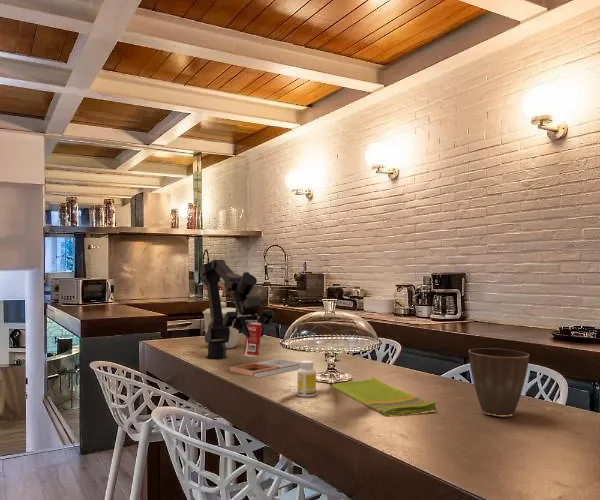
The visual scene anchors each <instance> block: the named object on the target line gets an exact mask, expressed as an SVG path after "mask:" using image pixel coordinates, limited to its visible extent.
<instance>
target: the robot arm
mask: <svg viewBox="0 0 600 500" xmlns="http://www.w3.org/2000/svg"><path fill="white" fill-rule="evenodd" d="M199 276H200V278H201V281H202V283H203V284H204V285H205V286H206V291H207V297H208V299H207V300H208V306H209V308H210V315H211V321H210V323H209V325H208V331H207V333H206V332H205V335H204V343H206V344H207V343H208V344H207V356H206V357H205V358H206V359H215V360H217V359H218V360H222V359H224V358H226V357H228V356H227V349H226V346H225V342H229V336H230V329H229V327H232V325H233V323H234V325H233V328H236V329H237V330H239V332H240V333H241V334H243V335H244V336H245V338H246V337H248V338H249V337H250V334H249V331H248V328H247V324H246V322H257V323H261V326H262V330H261V338H263V337H264V326H268V325H270V324H271V322H272V320H273V319H274V317H275V313H274V311H273V310H270V309H269V310H268V309H267V310H264V309H263V310H262V311H261V312H260V314H258V312H259V311H258V310H259V309H258V308H259V307H262V306H263V305H265V299H264V297H263V296H261V295H260V296H257V297H256V296H253V297H252V296H251V297H249V295H251V294H252V293H253V291H254V289H255V287H256V285H257V282H258V279H257V278H256V277H255V276H254V275H253V274H250V272H248V271H243V273H242V275H241V274H238V273H235V272H234V271H233V270H232V269H231V268H230V267H229V266H228V265H227V263H226V261H225V260H223V259H212V260H211V261H210V262H207V263H205V264H203V265H202V266H201V267H200V269H199ZM221 279H222V280H223V282H224V284H223V286H224V288H225V290H226V292H228V293H229V292H230V293H231V292H233V293H232V294H231V299H230V301H231V303H233V302H234V305H235V308H236V310H235V311H236V312H227V313H226V315H225V317H224V318H223V315H222V308H221V302H222V301H221V296H220V295H221V294H220V290H219V289H220V288H219V282H220V280H221ZM211 339H212V340H211ZM217 339H222V340H217Z"/></svg>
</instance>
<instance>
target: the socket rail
mask: <svg viewBox="0 0 600 500" xmlns="http://www.w3.org/2000/svg"><path fill="white" fill-rule="evenodd" d="M300 368H301V367H300V361H299V362H298V361H294V360H293V361H292V360H287V359H280V358H277V359H272V360H264V361H258V362H256V363H255V362H252V363H247V364H242V365H241V364H240V365H235V366H230V367H229V372H230V373H236V374H242V375H245V376H250V377H255V378H260V377H266V376H271V375H272V376H273V375H276V374H283V373H287V372H292V371H296V370H297V371H298V370H299V369H300ZM249 369H257V370H249Z"/></svg>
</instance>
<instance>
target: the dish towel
mask: <svg viewBox="0 0 600 500" xmlns="http://www.w3.org/2000/svg"><path fill="white" fill-rule="evenodd" d="M331 387H332V388H333V389H334V390H336V391H338V392H341V393H342V394H344V395H346V396H348V397H350V398H352V399H354V400H355V401H357V402H358V403H361V404H362V405H364V406H366V407H368V408H369V409H371V410H373V411H375V412H377V413H378V412H379V413H378V414H380V413H381V414H380V415H383V414H384V415H383V416H385V417H391V416H390V415H401V416H403V415H402V414H411V413H421V412H425V411H431V410H436V411H437V408H436V402H434V401H431V400H430V401H426V400H424V399H420V398H419V397H416V396H413V395H412V394H410V393H407V392H406V391H403V390H400V389H397V388H395V387H392V386H390V385H388V384H386V383H383V382H382V381H380V380H378V379H377V378H375V377H372V378H370V379H364V380H359V381H358V380H357V381H355V380H354V381H345V382H338V383H334V384H333V385H332V386H331Z"/></svg>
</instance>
